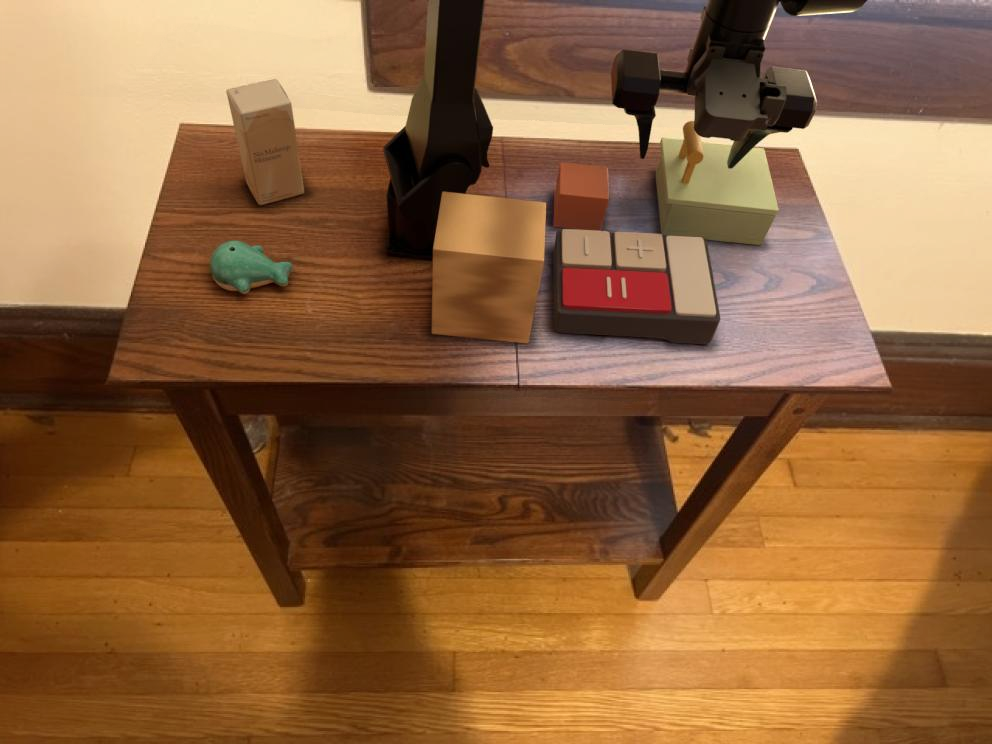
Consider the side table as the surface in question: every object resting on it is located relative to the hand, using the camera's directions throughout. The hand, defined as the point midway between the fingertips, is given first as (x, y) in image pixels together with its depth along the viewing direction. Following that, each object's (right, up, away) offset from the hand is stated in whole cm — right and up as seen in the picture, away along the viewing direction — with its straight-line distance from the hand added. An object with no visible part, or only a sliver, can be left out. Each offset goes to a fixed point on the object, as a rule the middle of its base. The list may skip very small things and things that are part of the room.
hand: (685, 161), depth 76 cm
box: (-43, -3, +1) cm, 43 cm away
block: (-11, -5, +3) cm, 12 cm away
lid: (+4, -1, +1) cm, 4 cm away
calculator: (-7, -15, -4) cm, 16 cm away
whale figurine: (-43, -13, -6) cm, 45 cm away
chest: (+4, -4, +5) cm, 7 cm away
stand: (-21, -16, -6) cm, 27 cm away
